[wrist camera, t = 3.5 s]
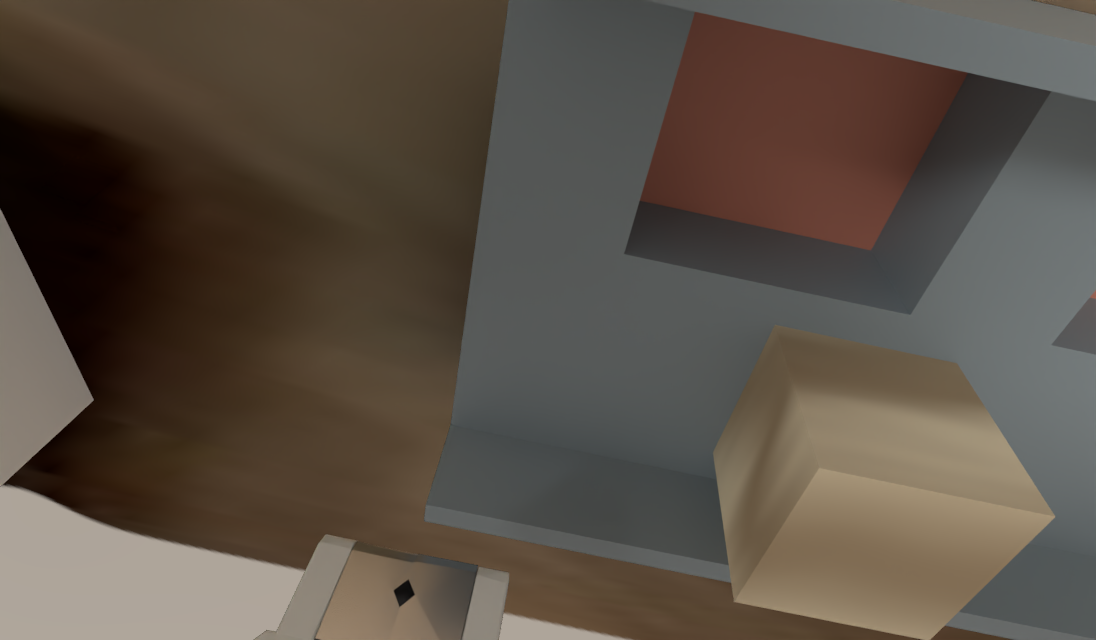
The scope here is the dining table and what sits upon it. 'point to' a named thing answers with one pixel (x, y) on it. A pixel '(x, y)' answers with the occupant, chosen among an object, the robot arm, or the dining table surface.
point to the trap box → (775, 259)
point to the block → (867, 487)
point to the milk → (31, 365)
